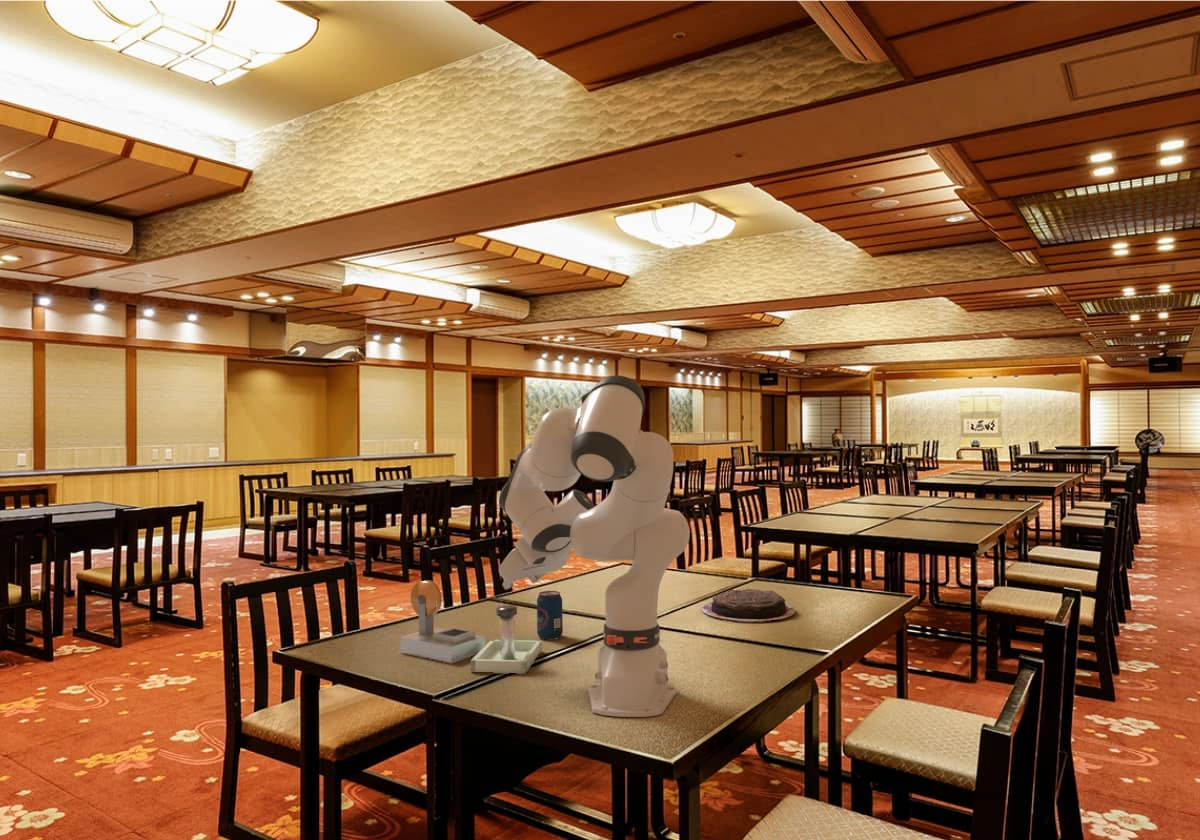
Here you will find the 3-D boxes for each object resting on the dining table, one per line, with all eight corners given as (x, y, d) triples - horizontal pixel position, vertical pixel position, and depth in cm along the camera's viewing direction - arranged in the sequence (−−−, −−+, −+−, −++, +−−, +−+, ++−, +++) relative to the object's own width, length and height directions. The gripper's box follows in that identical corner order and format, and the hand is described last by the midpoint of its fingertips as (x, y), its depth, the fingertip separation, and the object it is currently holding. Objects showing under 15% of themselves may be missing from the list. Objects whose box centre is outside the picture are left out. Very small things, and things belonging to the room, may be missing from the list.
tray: (525, 673, 178) (525, 661, 178) (470, 672, 180) (470, 660, 180) (541, 651, 196) (541, 640, 196) (491, 650, 198) (491, 639, 198)
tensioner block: (485, 651, 197) (484, 582, 197) (451, 663, 187) (450, 591, 187) (431, 641, 208) (430, 575, 208) (396, 651, 198) (396, 583, 198)
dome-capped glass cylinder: (515, 662, 185) (514, 610, 185) (495, 662, 186) (493, 610, 186) (520, 656, 190) (518, 605, 190) (500, 655, 191) (499, 605, 191)
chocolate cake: (699, 623, 225) (699, 600, 225) (703, 602, 252) (703, 582, 252) (798, 626, 220) (798, 603, 220) (792, 604, 247) (791, 583, 247)
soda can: (532, 637, 211) (531, 592, 211) (552, 632, 215) (552, 589, 215) (547, 642, 205) (546, 596, 205) (567, 637, 210) (567, 593, 210)
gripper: (569, 531, 192) (540, 567, 198) (512, 540, 176) (482, 579, 181) (584, 550, 189) (554, 586, 195) (527, 561, 173) (496, 601, 179)
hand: (519, 583), depth 188 cm, fingers open, 8 cm apart
